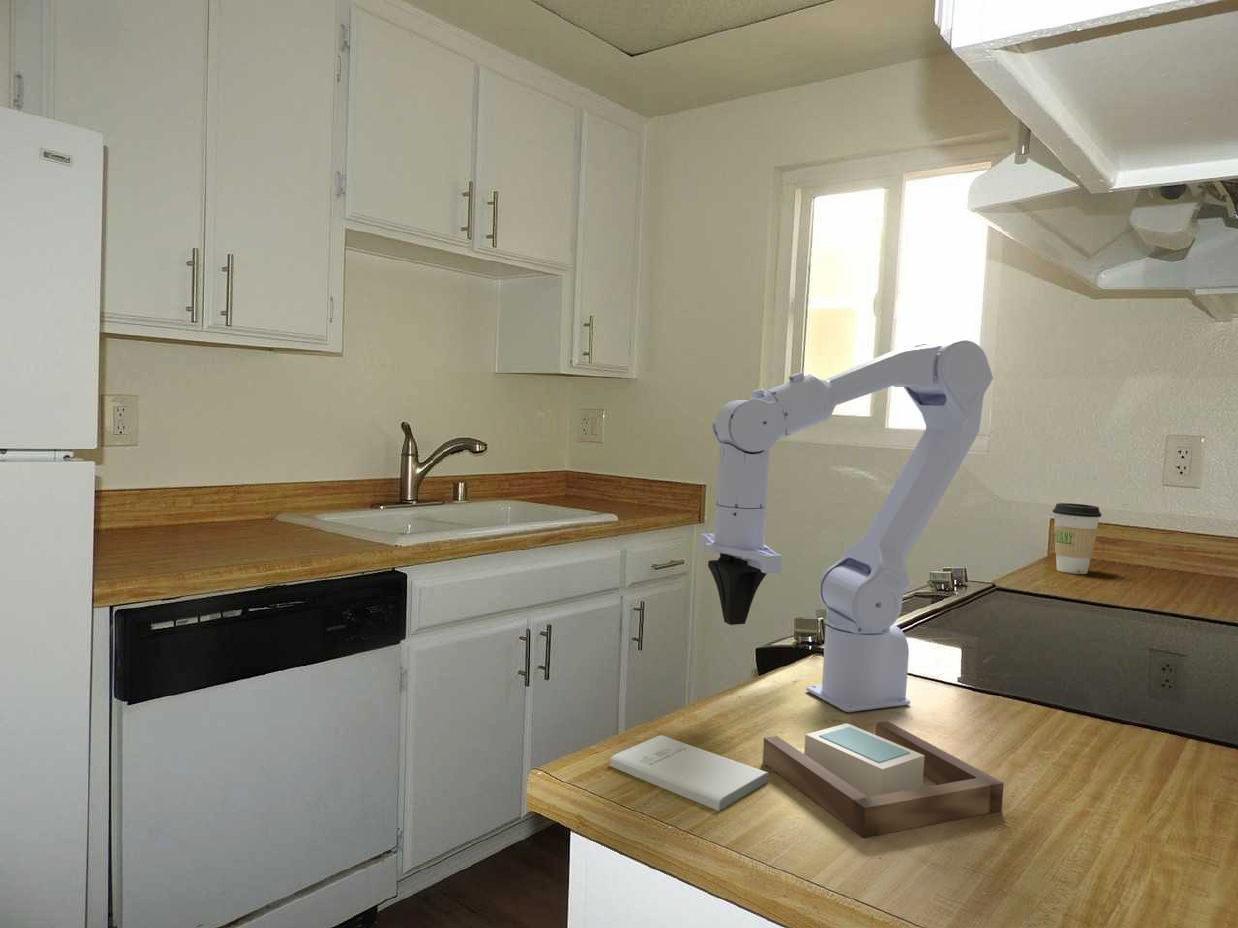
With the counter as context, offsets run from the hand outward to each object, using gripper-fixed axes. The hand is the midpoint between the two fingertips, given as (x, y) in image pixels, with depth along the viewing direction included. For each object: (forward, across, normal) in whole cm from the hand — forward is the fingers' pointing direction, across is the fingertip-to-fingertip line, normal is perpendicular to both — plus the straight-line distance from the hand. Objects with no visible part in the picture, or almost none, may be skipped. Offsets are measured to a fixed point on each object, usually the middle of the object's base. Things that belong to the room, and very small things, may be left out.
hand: (734, 622), depth 99 cm
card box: (+10, +21, +2) cm, 23 cm away
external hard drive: (+10, +15, -14) cm, 23 cm away
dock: (+9, +23, +2) cm, 25 cm away
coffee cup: (+10, -53, +120) cm, 132 cm away
